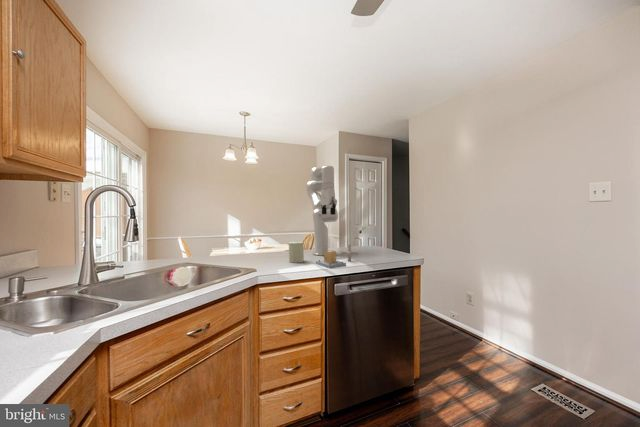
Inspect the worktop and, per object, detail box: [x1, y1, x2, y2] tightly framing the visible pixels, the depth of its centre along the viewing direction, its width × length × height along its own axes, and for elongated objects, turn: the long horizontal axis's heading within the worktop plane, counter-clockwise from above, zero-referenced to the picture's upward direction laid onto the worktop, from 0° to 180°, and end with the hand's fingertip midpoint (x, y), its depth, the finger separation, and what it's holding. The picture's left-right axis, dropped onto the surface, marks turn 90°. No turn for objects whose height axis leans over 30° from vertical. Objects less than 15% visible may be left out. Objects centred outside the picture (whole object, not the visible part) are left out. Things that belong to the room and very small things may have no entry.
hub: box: [323, 250, 337, 263], centre depth 154 cm, size 6×6×6 cm
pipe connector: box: [340, 244, 359, 262], centre depth 163 cm, size 10×10×10 cm
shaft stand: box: [315, 250, 347, 269], centre depth 153 cm, size 14×11×8 cm
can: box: [288, 240, 305, 263], centre depth 166 cm, size 9×9×12 cm
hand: (328, 214), depth 167 cm, fingers open, 9 cm apart
